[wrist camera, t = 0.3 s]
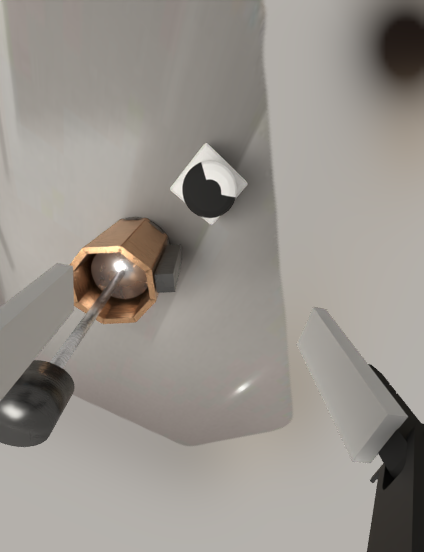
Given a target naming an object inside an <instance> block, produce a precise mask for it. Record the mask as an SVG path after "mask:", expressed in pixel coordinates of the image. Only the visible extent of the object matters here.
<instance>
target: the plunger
mask: <svg viewBox="0 0 424 552" xmlns="http://www.w3.org/2000/svg"><path fill="white" fill-rule="evenodd" d="M91 272H92V277H93V279H94V281H95V283H96V284H97V286H98V287H99V288H100V289H101V290H102V291H103V292H102V293H101V294H100V296H99V297H98V298H97V300H96V301H95V302H94V304H93V305H92V306H91V308H90V309H89V310H88V312H87V313H86V315H85V316H84V317H83V319H82V320H81V321H80V323H79V324H78V325H77V327H76V328H75V329H74V331H73V332H72V333H71V335H70V336H69V337H68V339H67V340H66V341H65V343H64V344H63V345H62V347H61V348H60V349H59V351H58V352H57V353H56V355H55V356H54V357H53V359H52V360H51V361H50V362H46V361H38V360H34V361H33V362H32V363H31V364H30V365H29V367H28V368H27V369H26V370H25V372H24V373H23V374H22V375H21V377H20V378H19V379H18V380H17V381H16V383H15V384H14V385H13V386H12V388H11V389H10V390H9V391H8V393H7V394H6V395H5V396H4V397H3V399H2V400H1V401H0V442H1V443H4V444H7V445H11V446H17V447H29V446H35V445H38V444H41V443H42V442H44V441H45V440H47V438H48V437H49V435H50V433H51V432H52V430H53V428H54V427H55V425H56V423H57V421H58V419H59V417H60V415H61V414H62V412H63V410H64V408H65V407H66V405H67V403H68V401H69V399H70V397H71V396H72V394H73V392H74V382H73V380H72V378H71V376H70V375H69V374H68V373H67V372H66V371H65V370H64V369H63V367H64V366H65V364H66V363H67V361H68V360H69V358H70V357H71V355H72V354H73V352H74V351H75V349H76V348H77V346H78V345H79V343H80V342H81V340H82V339H83V337H84V336H85V334H86V333H87V331H88V330H89V328H90V327H91V325H92V324H93V322H94V321H95V319H96V318H97V316H98V315H99V313H100V312H101V310H102V309H103V307H104V306H105V304H106V303H107V301H108V300H109V298H110V297H111V296H112V297H115V298H120V299H129V298H134V297H136V296H138V295H140V294H142V293H143V292H144V291H145V290H146V288H147V287H148V283H147V277H146V272H145V271H144V270H142V269H141V268H140V267H138V266H137V265H136V264H134V263H133V262H132V261H130V260H129V259H128V258H126V257H125V256H124V255H122V254H121V253H120V252H114V253H97V254H96V256H95V257H94V259H93V261H92V265H91Z"/></svg>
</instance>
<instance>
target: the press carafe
mask: <svg viewBox="0 0 424 552" xmlns="http://www.w3.org/2000/svg"><path fill="white" fill-rule="evenodd" d="M114 252H120V253H121V254H122V255H124V256H125V257H126V258H128V259H129V260H130V261H132V262H133V263H134V264H136V265H137V266H138V267H140V268H141V269H142V270H144V271H145V272H146V277H147V283H148V287H147V288H146V290H145V291H144V292H143V293H142V294H140V295H138V296H136V297H134V298H129V299H120V298H115V297H112V296H111V297H110V298H109V300H108V301H107V303H106V304H105V306H104V307H103V309H102V310H101V312H100V313H99V315H98V316H97V318H96V320H97V321H99V322H100V323H103V324H113V323H133V322H137V321H138V320H139V319H140V317H141V316H142V315H143V314H144V313H145V312H146V311H147V310H148V309H149V308H150V307H151V306H152V305H153V304H154V303H155V302H156V300H157V297H158V293H159V292H175V290H176V285H177V280H178V276H179V271H180V266H181V262H182V252H181V244H180V245H169V241H168V236H167V234H165V233H164V232H163V230H162V229H161V228H160V227H159V226H158V225H156V224H155V223H153V222H152V221H150V220H149V219H146V218H139V217H132V218H126V219H120V220H119V221H118V222H116V223H115V224H114V225H112V226H111V227H110V228H108V229H107V230H106V231H104V232H103V233H102V234H100V235H99V236H98V237H96V238H95V239H94V240H93V241H91V242H90V243H89V244H87V245H86V246H85V247H83V248H82V249H81V251H80V252H79V253H78V255H77V256H76V257H75V259H74V260H73V261H72V263H71V264H70V265H71V266H73V288H74V306H75V307H77V308H78V309H80V310H82V311H83V312H85V313H87V312H88V310H89V309H90V308H91V306H92V305H93V304H94V302H95V301H96V300H97V298H98V297H99V296H100V294H101V293H102V292H103V291H102V290H101V289H100V288H99V287H98V286H97V284H96V283H95V281H94V279H93V277H92V272H91V265H92V261H93V259H94V257H95V256H96V254H97V253H114Z"/></svg>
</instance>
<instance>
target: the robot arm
mask: <svg viewBox="0 0 424 552" xmlns="http://www.w3.org/2000/svg"><path fill="white" fill-rule="evenodd" d="M73 311H74V288H73V266H71V265H65V264H59V263H57V264H55V265H54V266H53V267H52V268H50V269H49V270H48V271H46V272H45V273H44V274H42V275H41V276H40V277H39V278H37V279H36V280H35V281H33V282H32V283H31V284H29V285H28V286H27V287H26V288H24V289H23V290H22V291H20V292H19V293H18V294H17V295H15V296H14V297H13V298H11V299H10V300H9V301H7V302H6V303H5V304H4V305H2V306H1V307H0V401H1V400H2V399H3V397H4V396H5V395H6V394H7V393H8V391H9V390H10V389H11V388H12V386H13V385H14V384H15V383H16V381H17V380H18V379H19V378H20V377H21V375H22V374H23V373H24V372H25V370H26V369H27V368H28V367H29V365H30V364H31V363H32V362H33V360H34V359H35V358H36V357H37V356H38V354H39V353H40V352H41V351H42V349H43V348H44V347H45V346H46V344H47V343H48V342H49V341H50V340H51V338H52V337H53V336H54V335H55V333H56V332H57V331H58V330H59V328H60V327H61V326H62V325H63V323H64V322H65V321H66V320H67V319H68V317H69V316H70V315H71V314H72V312H73ZM297 346H298V348H299V350H300V353H301V355H302V356H303V359H304V361H305V363H306V365H307V367H308V369H309V372H310V373H311V376H312V378H313V380H314V382H315V384H316V386H317V388H318V390H319V393H320V395H321V397H322V399H323V401H324V403H325V405H326V407H327V409H328V411H329V413H330V416H331V418H332V420H333V422H334V424H335V426H336V428H337V430H338V433H339V435H340V437H341V438H342V441H343V443H344V445H345V447H346V449H347V451H348V454H349V456H350V457H351V460H352V461H353V462H363V463H371V462H372V461H373V460H374V458H375V457H376V456H377V455H378V454H379V455H380V457H381V459H382V461H383V462H384V463H383V465H382V466H381V467H380V468H379V469H378V471H377V472H376V473H375V474H374V475H373V476H372V478H371V480H370V481H371V482H372V483H374V482H375V480H376V479H378V483H377V489H376V496H375V503H374V509H373V516H372V523H371V529H370V535H369V542H368V548H367V552H424V424H422V423H421V422H420V421H419V420H418V419H417V418H416V416H415V415H414V414H413V413H412V411H411V410H410V409H409V407H408V406H407V405H406V404H405V402H404V401H403V400H402V399H401V397H400V396H399V395H398V394H396V391H395V390H394V388H393V387H392V386H391V385H389V382H388V381H387V380H386V378H385V377H384V376H383V375H382V373H380V372H379V371H378V370H377V369H376V368H374V367H373V366H372V365H370V364H367V362H366V361H365V360H364V358H363V357H362V356H361V354H360V353H359V352H358V351H357V349H356V348H355V347H354V345H353V344H352V343H351V341H350V340H349V339H348V337H347V336H346V335H345V334H344V332H343V331H342V330H341V329H340V327H339V326H338V324H337V323H336V322H335V320H334V319H333V318H332V317H331V315H330V314H329V313H328V311H327V310H326V309H322V308H316V307H313V309H312V311H311V314H310V315H309V318H308V320H307V322H306V324H305V327H304V329H303V331H302V333H301V336H300V338H299V340H298V343H297Z"/></svg>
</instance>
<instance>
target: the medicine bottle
mask: <svg viewBox="0 0 424 552" xmlns="http://www.w3.org/2000/svg"><path fill="white" fill-rule="evenodd" d="M246 186H247V181H246V180H245V179H244V178H243V177H242V176H241V175H240V174H238V173H237V172H236V171H235V170H234V169H233V168H232V167H231V166H230V165H229V164H228V163H227V162H226V161H225V160H224V159H223V158H222V157H221V156H220V155H219V154H218V153H217V152H216V151H215V150H214V149H213V148H212V147H211V146H210V145H209V144H207V143H205V144H204V145H203V146H202V147H201V149H200V150H199V151H198V153H197V154H196V155H195V156H194V158H193V159H192V160H191V162H190V163H189V164H188V165H187V167H186V168H185V169H184V171H183V172H182V173H181V175H180V176H179V177H178V178H177V180H176V181H175V182H174V184H173V185H172V186H171V188H170V190H171V191H172V192H173V193H174V194H175V195H176V196H177V197H179V198H180V199H181V200H182V201H183V202H184V203H186V205H187V206H188V208H189V209H190V210H191V211H192V212H193V213H195V214H196V215H198V216H201V217H202V218H203V219H204V220H205V221H207V222H208V223H209V224H210V225H212V224H214V223H215V221H216V220H217V219H218V218H219V217H220V216H221V215H223V214H224V213H226V212H227V211H228V210H229V209H230V208H231V206H232V205H233V203H234V201H235V199H236V198H237V196H238V195H239V194H240V193H241V192H242V191H243V190H244V188H245V187H246Z"/></svg>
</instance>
